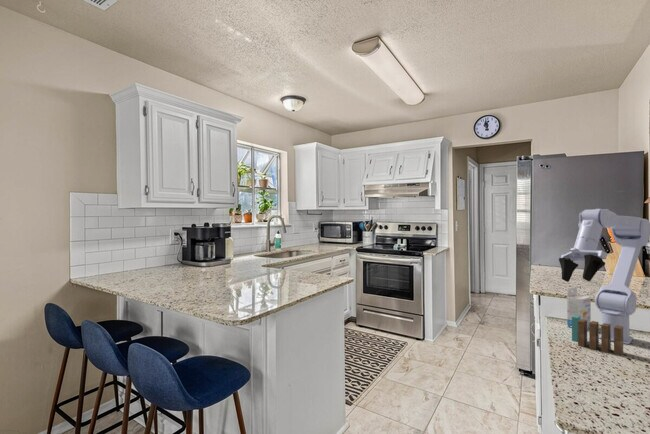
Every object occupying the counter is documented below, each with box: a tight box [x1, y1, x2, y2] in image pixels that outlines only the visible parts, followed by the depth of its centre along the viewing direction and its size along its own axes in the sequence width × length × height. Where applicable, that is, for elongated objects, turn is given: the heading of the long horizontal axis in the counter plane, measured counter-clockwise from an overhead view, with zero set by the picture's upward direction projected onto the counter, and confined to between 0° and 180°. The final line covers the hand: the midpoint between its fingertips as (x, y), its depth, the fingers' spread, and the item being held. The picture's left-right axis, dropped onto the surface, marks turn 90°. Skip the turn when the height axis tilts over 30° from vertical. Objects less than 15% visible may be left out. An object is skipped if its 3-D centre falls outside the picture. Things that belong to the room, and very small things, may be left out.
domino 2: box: [577, 319, 588, 348], centre depth 111 cm, size 2×4×8 cm, turn 130°
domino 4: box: [600, 323, 612, 353], centre depth 106 cm, size 2×4×8 cm, turn 131°
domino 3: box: [588, 320, 600, 351], centre depth 108 cm, size 2×4×8 cm, turn 131°
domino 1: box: [571, 315, 581, 343], centre depth 116 cm, size 2×4×8 cm, turn 130°
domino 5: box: [613, 325, 624, 356], centre depth 104 cm, size 2×4×8 cm, turn 130°
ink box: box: [566, 286, 592, 328], centre depth 131 cm, size 8×5×15 cm, turn 123°
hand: (575, 280), depth 106 cm, fingers open, 7 cm apart
